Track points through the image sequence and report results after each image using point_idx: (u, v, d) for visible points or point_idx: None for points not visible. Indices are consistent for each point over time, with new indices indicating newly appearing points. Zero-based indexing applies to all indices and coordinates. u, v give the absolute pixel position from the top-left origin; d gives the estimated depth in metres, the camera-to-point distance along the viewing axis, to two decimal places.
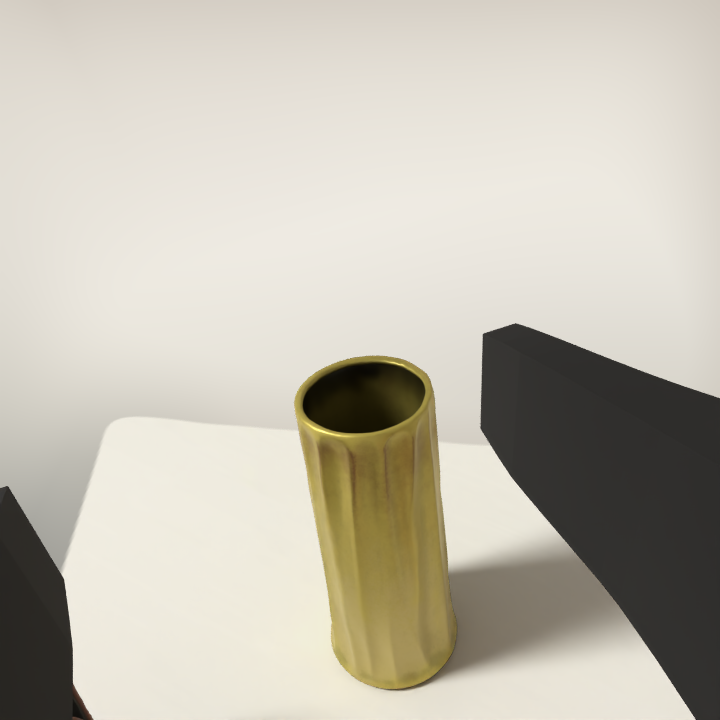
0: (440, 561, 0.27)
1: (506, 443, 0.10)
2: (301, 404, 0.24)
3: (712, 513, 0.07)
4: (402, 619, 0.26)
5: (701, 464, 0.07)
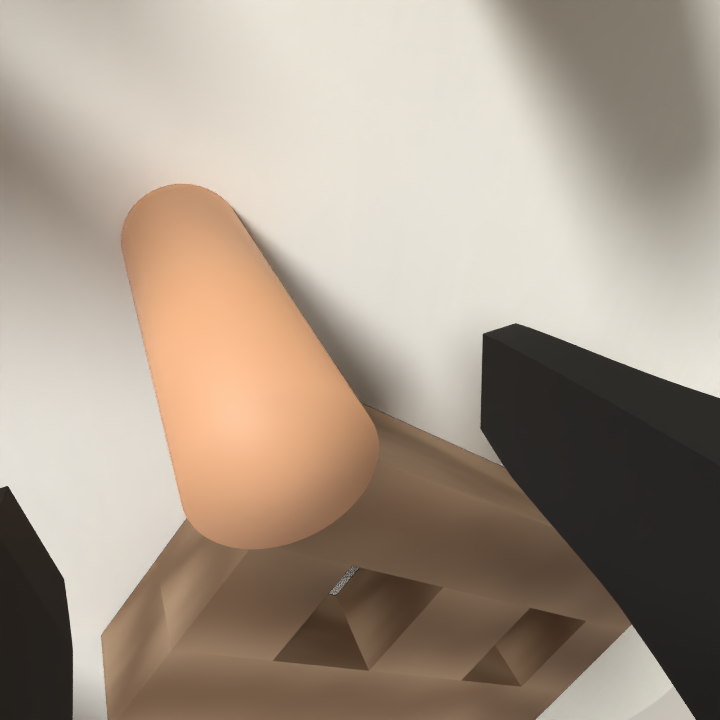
0: None
1: (506, 443, 0.10)
2: None
3: (712, 513, 0.07)
4: None
5: (700, 464, 0.07)
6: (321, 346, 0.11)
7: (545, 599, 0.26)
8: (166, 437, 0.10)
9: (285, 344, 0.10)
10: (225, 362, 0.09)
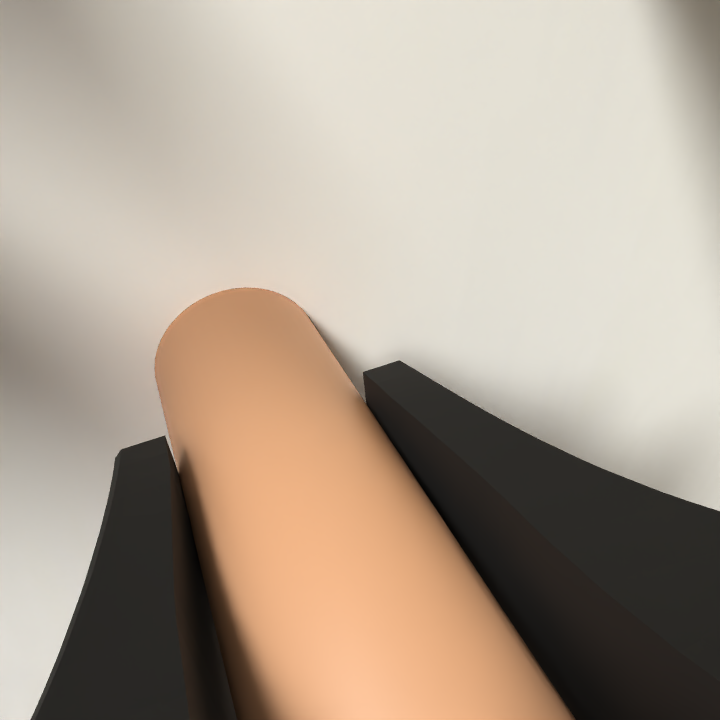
0: None
1: None
2: None
3: (546, 587, 0.06)
4: None
5: (533, 534, 0.06)
6: (532, 657, 0.06)
7: None
8: None
9: (501, 706, 0.05)
10: None
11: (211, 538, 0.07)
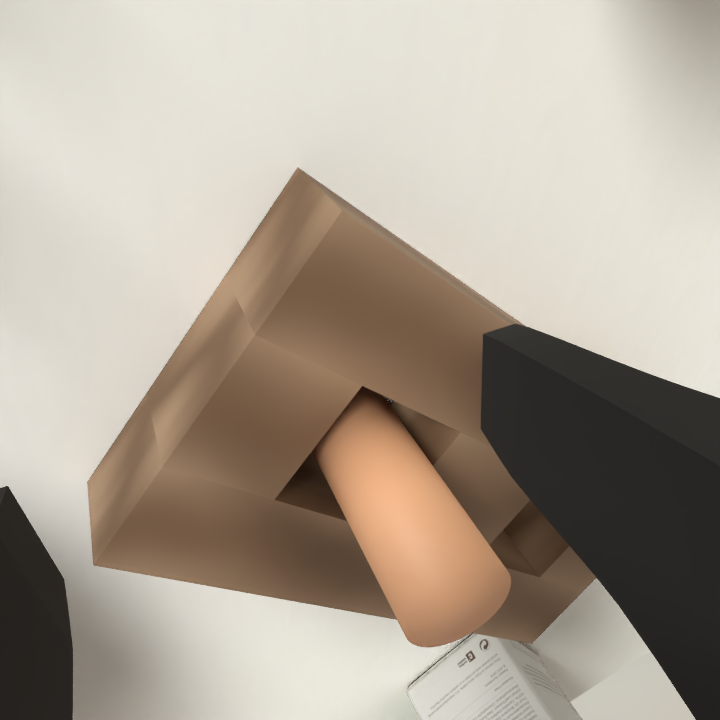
0: None
1: (506, 443, 0.10)
2: None
3: (712, 513, 0.07)
4: None
5: (700, 464, 0.07)
6: (468, 517, 0.17)
7: None
8: (381, 580, 0.16)
9: (455, 525, 0.16)
10: (424, 541, 0.16)
11: (343, 481, 0.19)
